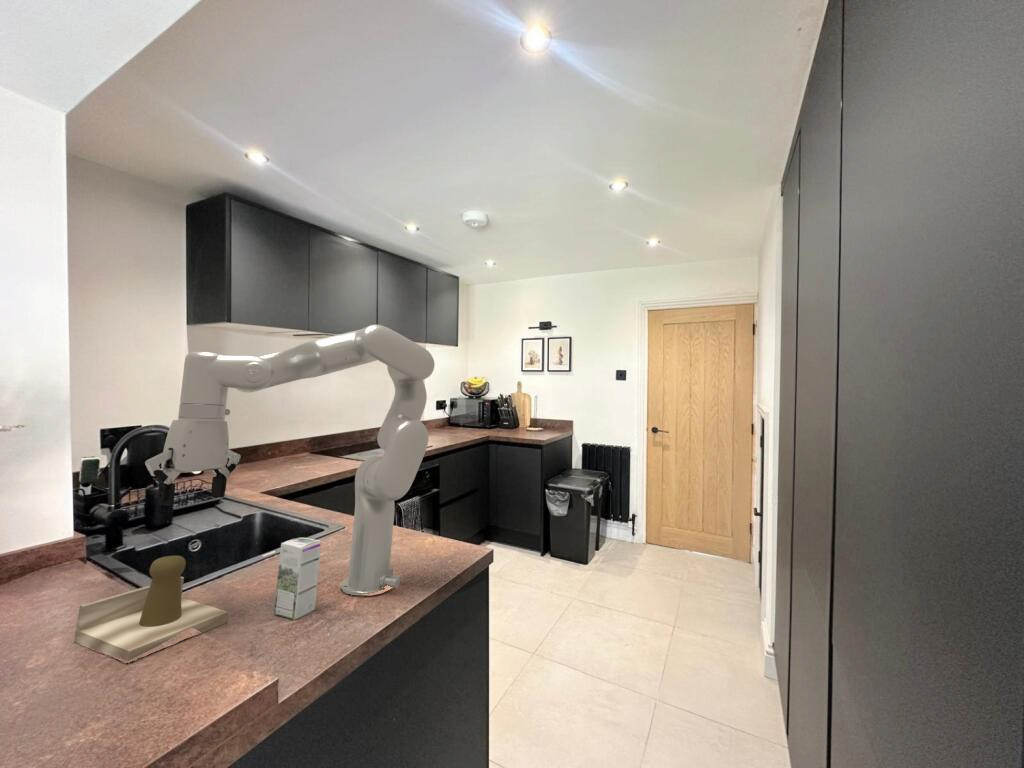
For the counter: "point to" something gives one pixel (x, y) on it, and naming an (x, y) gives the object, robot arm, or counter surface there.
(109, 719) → the counter surface
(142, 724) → the counter surface
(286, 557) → the syrup box
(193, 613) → the shelf
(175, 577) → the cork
